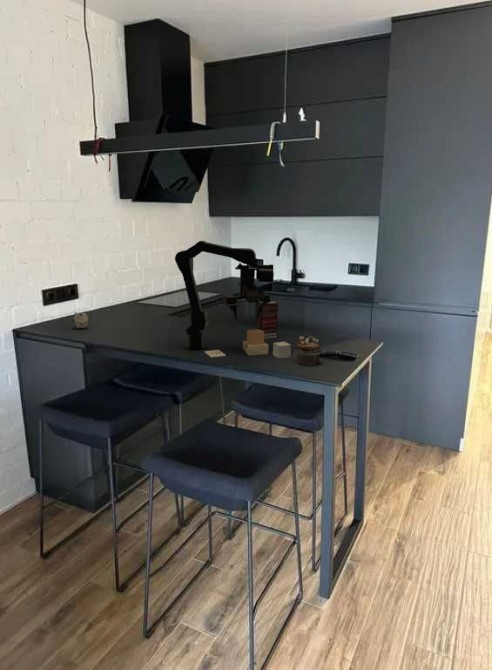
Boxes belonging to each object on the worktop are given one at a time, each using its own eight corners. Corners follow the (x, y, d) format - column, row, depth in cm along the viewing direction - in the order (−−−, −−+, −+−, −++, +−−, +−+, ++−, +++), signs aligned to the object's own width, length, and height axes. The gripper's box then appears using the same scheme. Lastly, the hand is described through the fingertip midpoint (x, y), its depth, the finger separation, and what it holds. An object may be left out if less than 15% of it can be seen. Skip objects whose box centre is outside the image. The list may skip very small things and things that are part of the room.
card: (204, 352, 187) (204, 351, 187) (218, 350, 190) (218, 349, 190) (211, 357, 180) (211, 356, 180) (225, 356, 183) (225, 354, 183)
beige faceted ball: (85, 335, 227) (95, 317, 230) (85, 332, 219) (95, 314, 222) (67, 326, 225) (77, 308, 228) (66, 324, 217) (77, 305, 220)
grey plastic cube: (272, 355, 185) (273, 342, 184) (284, 353, 187) (284, 341, 186) (278, 358, 181) (279, 346, 179) (290, 357, 183) (290, 344, 181)
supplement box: (272, 335, 216) (273, 300, 213) (277, 337, 212) (278, 302, 208) (255, 336, 213) (256, 301, 209) (259, 339, 209) (260, 303, 205)
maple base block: (243, 350, 192) (243, 341, 191) (261, 349, 194) (262, 339, 193) (248, 356, 184) (248, 346, 183) (268, 354, 187) (268, 344, 186)
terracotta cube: (246, 342, 189) (247, 330, 188) (258, 341, 191) (258, 329, 190) (252, 345, 185) (252, 332, 183) (263, 344, 187) (264, 331, 186)
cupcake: (289, 360, 178) (290, 335, 175) (309, 357, 182) (311, 332, 180) (305, 367, 170) (306, 340, 167) (326, 364, 175) (327, 337, 172)
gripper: (232, 284, 175) (231, 326, 178) (277, 283, 182) (276, 323, 186) (222, 280, 184) (221, 320, 188) (265, 279, 192) (263, 317, 195)
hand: (246, 320), depth 189 cm, fingers open, 9 cm apart
